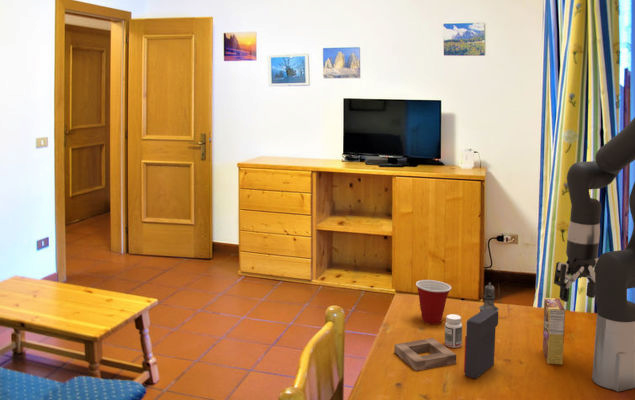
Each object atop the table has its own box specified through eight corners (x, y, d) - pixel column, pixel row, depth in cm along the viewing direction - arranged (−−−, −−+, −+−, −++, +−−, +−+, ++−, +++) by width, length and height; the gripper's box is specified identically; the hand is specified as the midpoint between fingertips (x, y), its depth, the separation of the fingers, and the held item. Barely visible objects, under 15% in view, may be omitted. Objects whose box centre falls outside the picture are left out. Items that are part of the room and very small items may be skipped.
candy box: (541, 350, 176) (544, 297, 173) (557, 351, 175) (560, 298, 172) (545, 363, 167) (548, 308, 164) (562, 365, 166) (566, 309, 163)
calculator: (480, 360, 169) (483, 307, 166) (496, 365, 166) (498, 310, 164) (462, 375, 161) (463, 319, 158) (477, 380, 158) (480, 323, 155)
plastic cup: (453, 327, 192) (455, 289, 190) (418, 327, 192) (418, 289, 190) (446, 314, 203) (447, 278, 201) (412, 314, 203) (413, 278, 201)
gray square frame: (456, 363, 167) (456, 354, 167) (415, 371, 163) (416, 361, 163) (432, 346, 179) (432, 338, 178) (394, 352, 174) (394, 344, 174)
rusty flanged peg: (474, 317, 200) (476, 281, 198) (489, 314, 203) (491, 278, 200) (487, 323, 195) (488, 286, 193) (502, 320, 197) (503, 283, 195)
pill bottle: (460, 341, 182) (461, 313, 180) (462, 348, 177) (463, 319, 176) (443, 341, 182) (444, 313, 181) (445, 347, 178) (446, 319, 176)
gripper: (571, 245, 156) (565, 307, 160) (616, 240, 161) (609, 300, 165) (550, 237, 163) (545, 297, 167) (594, 232, 168) (588, 290, 171)
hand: (577, 298), depth 166 cm, fingers open, 8 cm apart
